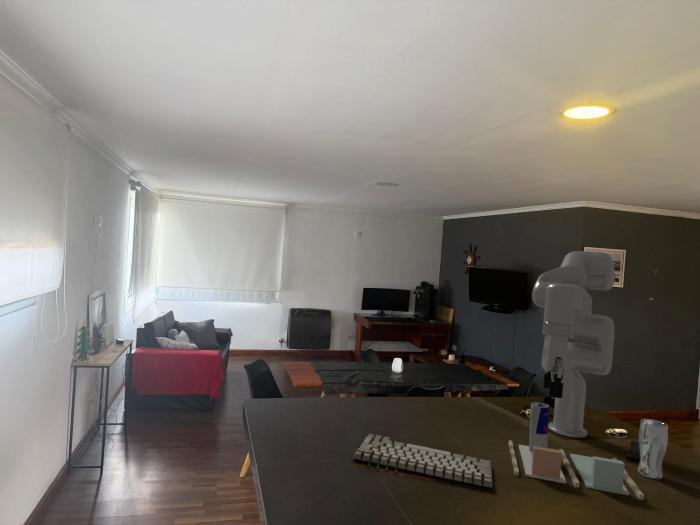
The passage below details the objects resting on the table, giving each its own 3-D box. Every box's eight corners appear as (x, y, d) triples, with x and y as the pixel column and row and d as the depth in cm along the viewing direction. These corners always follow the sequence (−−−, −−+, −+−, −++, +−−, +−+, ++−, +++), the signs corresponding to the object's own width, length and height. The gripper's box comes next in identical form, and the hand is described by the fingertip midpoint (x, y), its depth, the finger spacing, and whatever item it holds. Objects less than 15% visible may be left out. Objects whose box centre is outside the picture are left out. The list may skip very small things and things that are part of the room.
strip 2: (569, 455, 143) (572, 430, 143) (605, 461, 141) (607, 436, 141) (586, 487, 122) (589, 458, 122) (629, 495, 120) (631, 466, 119)
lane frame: (508, 443, 149) (508, 439, 149) (615, 462, 141) (616, 458, 141) (514, 475, 126) (515, 471, 126) (643, 500, 118) (644, 495, 118)
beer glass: (630, 468, 137) (634, 417, 137) (652, 469, 138) (656, 419, 138) (647, 479, 130) (651, 426, 130) (670, 480, 131) (675, 427, 131)
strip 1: (518, 446, 147) (520, 422, 147) (552, 452, 145) (554, 428, 145) (526, 476, 126) (528, 448, 126) (566, 483, 123) (568, 455, 123)
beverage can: (548, 458, 138) (550, 407, 138) (529, 455, 139) (531, 405, 139) (545, 451, 142) (547, 402, 143) (528, 449, 144) (530, 400, 144)
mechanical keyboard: (491, 465, 133) (492, 454, 133) (494, 497, 114) (495, 484, 114) (363, 442, 142) (364, 431, 142) (347, 467, 124) (348, 455, 124)
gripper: (538, 324, 135) (533, 383, 135) (547, 331, 118) (541, 398, 118) (566, 327, 133) (561, 387, 133) (579, 335, 117) (573, 403, 117)
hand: (552, 392), depth 126 cm, fingers open, 9 cm apart
